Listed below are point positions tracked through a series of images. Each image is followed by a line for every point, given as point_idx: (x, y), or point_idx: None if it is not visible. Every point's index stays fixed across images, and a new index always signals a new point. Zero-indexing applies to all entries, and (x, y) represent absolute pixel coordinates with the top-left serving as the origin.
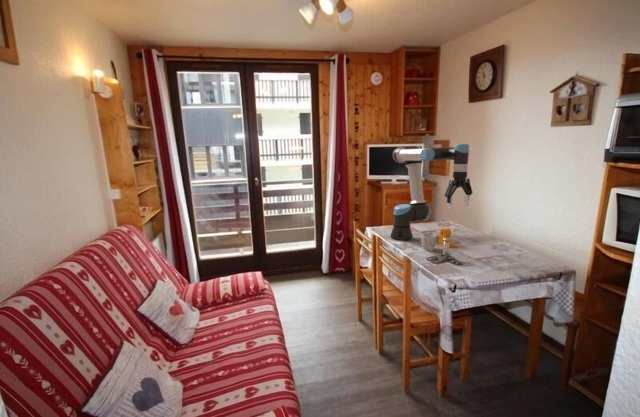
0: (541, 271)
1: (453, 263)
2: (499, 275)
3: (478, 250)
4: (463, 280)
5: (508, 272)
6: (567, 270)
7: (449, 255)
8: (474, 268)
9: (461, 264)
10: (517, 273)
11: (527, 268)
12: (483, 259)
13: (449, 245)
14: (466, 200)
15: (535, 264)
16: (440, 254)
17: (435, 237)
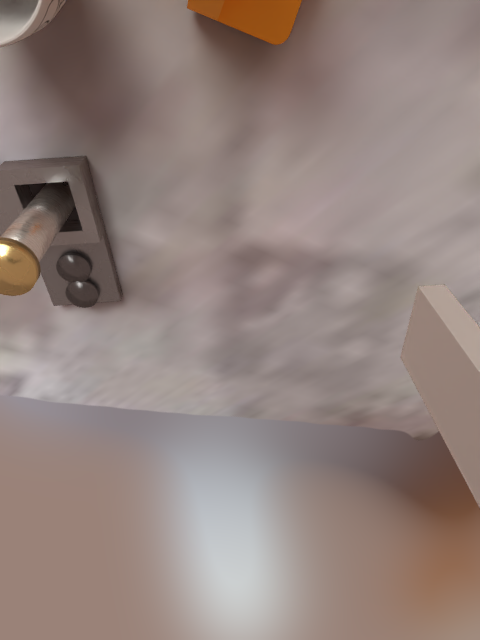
0: (348, 418)
1: (55, 279)
2: (182, 398)
3: (383, 154)
4: (15, 386)
5: (237, 392)
6: (427, 435)
7: (81, 210)
8: (139, 329)
9: (88, 304)
10: (258, 406)
11: (336, 392)
12: (270, 272)
13: (226, 24)
14: (455, 418)
15: (403, 380)
16: (29, 171)
17: (13, 43)
